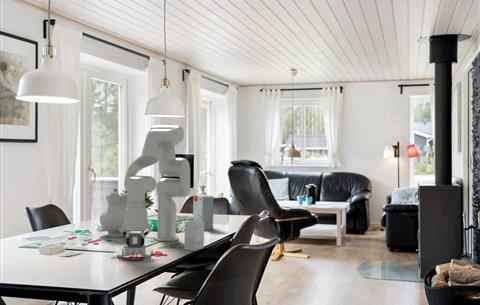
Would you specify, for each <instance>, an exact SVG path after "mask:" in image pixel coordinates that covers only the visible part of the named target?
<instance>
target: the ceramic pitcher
mask: <svg viewBox="0 0 480 305" xmlns="http://www.w3.org/2000/svg"><path fill="white" fill-rule="evenodd" d="M105 198H106V199H105V200H106V201H107V208H106V209H105V210H104V211H102V213H101V214H100V217H99V223H100V226H101V228H102V229H103V230H104V231H106V232H107V234H106V236H107V237H109V238H121V237H126V236H125V235H124V234H123V233H121V232H120V231H119V228H120V227H121V226H122V225H123V224H124V216H125V210H126V208H127V201H128V192H126V193H125V194H124V195H120V193H119V190H118V189H117V188H113V192H110V194H109V195H108V194H107V195H105ZM123 230H124V228H123ZM124 231H125V230H124ZM125 232H126V233H127V231H125Z"/></svg>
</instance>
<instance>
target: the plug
mask: <svg viewBox="0 0 480 305" xmlns="http://www.w3.org/2000/svg"><path fill="white" fill-rule="evenodd" d="M141 236H142V235H141V232H130V234H129V248H142V247H141Z"/></svg>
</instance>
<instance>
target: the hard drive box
mask: <svg viewBox="0 0 480 305" xmlns="http://www.w3.org/2000/svg"><path fill="white" fill-rule="evenodd" d="M192 196H193V201H192V202H193V203H192V204H193V205H192V206H193V207H192V213H193V214H192V215H193V216H192V220H193V219H194V220H199V221H204V231H212V230H213V229H214V195H209V194H205V193H200V194H199V193H195V194H193V195H192Z"/></svg>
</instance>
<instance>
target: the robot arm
mask: <svg viewBox="0 0 480 305" xmlns="http://www.w3.org/2000/svg"><path fill="white" fill-rule="evenodd" d="M184 137H185V130H184V128H183V127H182V126H181V125H176V124H175V125H170V124H169V125H166V124H164V125H163V124H158V125H152V126H151V127H150V129H149V131H147V134H146V136H145V141H144V144H143V148H142V150H141V155H140V156H138V157H137V158H136V159H134V160H133V161H132V162H131V164H130V165H129V166H128V168H127V170H126V173H125V175H124V176H125V177H124V182H123V186H124V189H125V191H127V193H128V201H127V208H126V210H125V216H124V224H123V225H122V226H121V227H120V228H119V231H120V232H121V233H123V234H124V235H125V236H124V237H125V239H126V243H125V244H126V246H127V245H128V247H129V234H130V233H132V232H140V233H141V235H142V236H141V247H143V245H145V237H146V236H148V235H149V234H150V233H151V232H152V231H153V228H152V227H151V225H150V224H149V222H148V221H149V220H148V219H149V218H148V208H147V206H149V202H146V193H152V192H154V191H155V189H156V195H157V226H156V227H157V234H156V236H153V239H154V240H155V241H159V242H175V241H177V240H179V239H180V237H179V236H177V234H176V233H177V204H176V202H175V200H174V198H187V197H188V196H189V195H190V193H191V166H190V162H189V161H188V159H186V158H185V157H184V158H183V157H176V148H175V147H176V146H177V145H179V144H180V143H181V142H182V141H183V140H184ZM156 163H158V171H159V175H161V176H164V177H166V178H161V179H159V180H157V181H156V178H154V177H153V176H150V175H137V174H138V173H139V172H140V171H141V170H143V169H145V168H148V167H150V166H152V165H156ZM167 177H179V178H167ZM123 228H124V230H125V231H127V233H126V232H125V231H124V230H123ZM147 229H148V230H147Z"/></svg>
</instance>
